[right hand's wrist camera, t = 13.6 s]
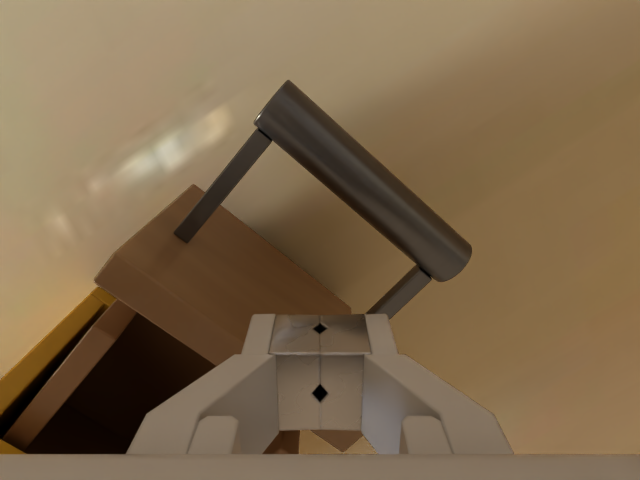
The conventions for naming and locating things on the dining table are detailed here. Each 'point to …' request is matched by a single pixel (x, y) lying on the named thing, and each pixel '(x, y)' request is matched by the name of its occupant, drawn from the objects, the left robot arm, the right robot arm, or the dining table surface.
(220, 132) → the dining table surface
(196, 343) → the drawer
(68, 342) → the cabinet
